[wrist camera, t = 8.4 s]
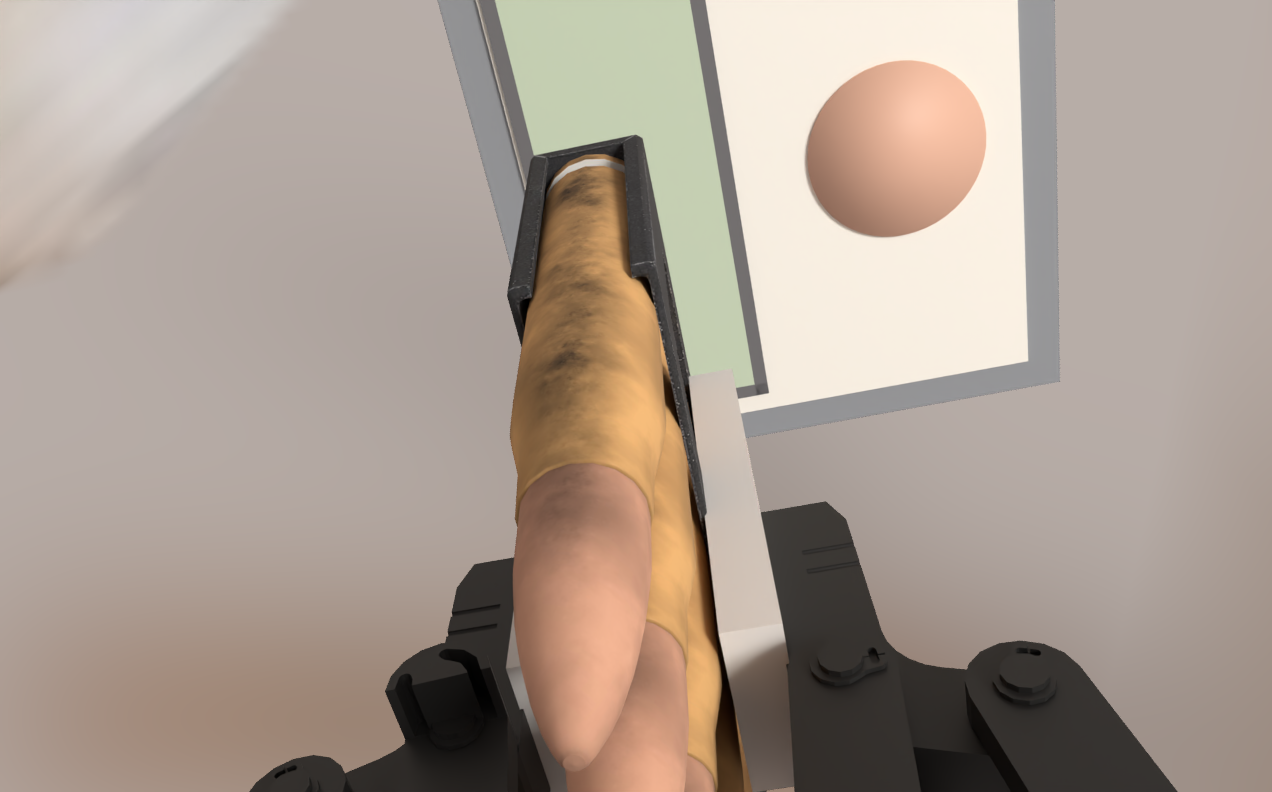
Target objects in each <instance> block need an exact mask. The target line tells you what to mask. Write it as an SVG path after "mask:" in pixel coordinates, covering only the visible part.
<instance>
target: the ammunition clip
mask: <svg viewBox="0 0 1272 792" xmlns="http://www.w3.org/2000/svg"><path fill="white" fill-rule="evenodd" d="M507 297H508V300H509V304H510V308H511V311H512V314H513V318H514V322H515V325H516V329H517V332H518V336H519V339H520V343H521V347H522V349H521V356H520V362H519V368H518V375H517V381H516V387H515V393H514V400H513V409H512V417H511V427H510V440H511V446H512V451H513V455H514V460H515V464H516V469H517V473H518V480H517V496H516V512H515V520H516V523H517V527H518V528H517V537H516V546H515V555H514V566H513V605H514V627H515V635H516V642H517V649H518V655H519V661H520V666H521V670H522V674H523V678H524V682H525V686H526V690H527V694H528V698H529V702H530V706H531V709H532V711H533V714H534V717H535V719H536V722H537V725H538V727H539V730H540V732H541V735H542V737H543V739H544V741H545V743H546V744H547V746H548V748H549V750H550V752H551V753H552V755H553V756H554V758H555V759H556V761H557V762H558V763H559V764H560V766H561V767H563V768H565V773H566V784H567V790H568V792H752V787H751V782H750V778H749V773H748V768H747V764H746V759H745V754H744V750H743V745H742V740H741V735H740V731H739V726H738V721H737V717H736V712H735V707H734V703H733V698H732V693H731V689H730V684H729V679H728V675H727V670H726V665H725V661H724V656H723V651H722V647H721V642H720V637H719V632H718V624H717V615H716V607H715V598H714V590H713V581H712V573H711V564H710V556H709V547H708V539H707V530H706V522H705V515H706V513H707V508H706V501H705V493H704V486H703V478H702V471H701V467H700V462H699V457H698V452H697V445H696V437H695V429H694V420H693V412H692V403H691V395H690V386H689V383H690V381H689V376H690V371H689V366H688V361H687V357H686V352H685V347H684V342H683V337H682V332H681V327H680V322H679V317H678V312H677V307H676V302H675V297H674V292H673V287H672V282H671V277H670V272H669V267H668V262H667V257H666V252H665V247H664V242H663V237H662V232H661V227H660V222H659V217H658V212H657V207H656V202H655V197H654V192H653V187H652V182H651V177H650V172H649V167H648V162H647V157H646V152H645V147H644V142H643V138H642V137H640V136H638V135H631V136H626V137H621V138H616V139H611V140H607V141H602V142H597V143H592V144H587V145H582V146H577V147H573V148H568V149H563V150H558V151H553V152H548V153H544V154H539V155H534V156H533V158H532V159H531V161H530V167H529V173H528V178H527V184H526V190H525V195H524V201H523V207H522V212H521V218H520V224H519V229H518V235H517V241H516V246H515V252H514V258H513V263H512V269H511V275H510V281H509V287H508V294H507ZM760 792H766V791H760Z"/></svg>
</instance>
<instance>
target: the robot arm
mask: <svg viewBox="0 0 1272 792" xmlns="http://www.w3.org/2000/svg"><path fill="white" fill-rule="evenodd" d="M689 381H690V383H689V386H690V395H691V403H692V412H693V420H694V429H695V437H696V445H697V452H698V457H699V462H700V467H701V471H702V478H703V486H704V493H705V501H706V508H707V513H706V515H705V522H706V530H707V539H708V547H709V556H710V564H711V573H712V581H713V590H714V598H715V607H716V615H717V624H718V632H719V637H720V642H721V647H722V651H723V656H724V661H725V665H726V670H727V675H728V679H729V684H730V689H731V693H732V698H733V703H734V707H735V712H736V717H737V721H738V726H739V731H740V735H741V740H742V745H743V750H744V754H745V759H746V764H747V768H748V773H749V778H750V782H751V787H752V792H760V791H767V790H773V789H779V788H786V787H793V786H794V788H795V792H1177V791H1176V789H1175V788H1174V787H1173V785H1172V784H1171V783H1170V781H1169V780H1168V779H1167V778H1166V776H1165V775H1164V774H1163V772H1162V771H1161V770H1160V769H1159V767H1158V766H1157V765H1156V764H1155V763H1154V761H1153V760H1152V758H1151V757H1150V756H1149V754H1148V753H1147V752H1146V751H1145V749H1144V748H1143V747H1142V745H1141V744H1140V743H1139V741H1138V740H1137V739H1136V738H1135V736H1134V735H1133V734H1132V732H1131V731H1130V730H1129V729H1128V727H1127V726H1126V725H1125V723H1124V722H1123V721H1122V720H1121V718H1120V717H1119V716H1118V714H1117V713H1116V712H1115V711H1114V709H1113V708H1112V707H1111V705H1110V704H1109V703H1108V702H1107V700H1106V699H1105V698H1104V697H1103V695H1102V694H1101V693H1100V692H1099V690H1098V689H1097V687H1096V686H1095V685H1094V684H1093V682H1092V681H1091V680H1090V678H1089V677H1088V676H1087V675H1086V673H1085V672H1084V671H1083V669H1082V668H1081V667H1080V666H1079V665H1078V664H1077V663H1076V662H1075V661H1073V660H1072V659H1071V658H1070V657H1069V656H1068V655H1066V654H1065V653H1064V652H1062V651H1059V650H1057V649H1055V648H1052V647H1050V646H1047V645H1045V644H1041V643H1033V642H1027V641H1015V642H1006V643H999V644H997V645H994V646H992V647H990V648H988V649H985V650H983V651H981V652H980V653H979V654H978V655H977V656H976V657H975V658H974V659H973V660H972V661H971V662H970V663H969V665H968V669H967V670H965V669H954V668H942V667H936V666H931V665H925V664H922V663H919V662H916V661H913V660H911V659H909V658H907V657H905V656H903V655H902V654H901V653H899V652H897V651H896V650H895V649H894V648H893V647H892V646H891V645H890V644H889V643H888V642H887V640H886V639H885V637H884V635H883V633H882V631H881V628H880V625H879V621H878V619H877V615H876V612H875V609H874V606H873V603H872V600H871V596H870V593H869V590H868V587H867V584H866V581H865V577H864V574H863V571H862V568H861V565H860V563H859V558H858V556H857V552H856V549H855V547H854V543H853V540H852V536H851V533H850V530H849V527H848V524H847V521H846V519H845V518H844V517H843V516H842V515H841V514H840V513H838V512H837V511H836V510H835V509H834V508H833V507H832V506H830V505H829V504H828V503H827V502H820V503H814V504H808V505H802V506H797V507H791V508H785V509H780V510H773V511H768V512H762V513H761V512H760V508H759V502H758V498H757V492H756V488H755V482H754V477H753V472H752V467H751V462H750V457H749V452H748V447H747V442H746V437H745V432H744V427H743V422H742V417H741V412H740V407H739V401H738V396H737V391H736V386H735V381H734V376H733V371H732V369H727V370H721V371H716V372H710V373H705V374H699V375H694V376H689ZM513 566H514V558H509V559H503V560H497V561H491V562H485V563H480V564H475V565H474V566H473V567H472V569H471V570H470V571H469V572H468V574H467V575H466V577H465V578H464V579H463V581H462V582H461V583H460V585H459V586H458V587H457V590H456V595H455V600H454V604H453V609H452V617H451V619H450V623H449V628H448V637H446V642H445V643H441V644H438V645H436V646H433V647H430V648H427V649H424V650H422V651H420V652H419V653H417V654H415V655H414V656H412V657H411V658H409V659H408V660H406V661H405V662H403V664H402V665H401V666H400V667H399V668H398V669H397V670H396V671H395V672H394V674H393V675H392V676H391V678H390V681H389V683H388V685H387V688H386V690H385V692H386V695H387V697H388V700H389V702H390V704H391V707H392V709H393V711H394V714H395V716H396V719H397V721H398V723H399V725H400V728H401V730H402V733H403V735H404V738H405V744H404V745H402V746H401V747H400V748H398V749H397V750H396V751H394V752H392V753H390V754H388V755H386V756H384V757H382V758H380V759H378V760H376V761H373V762H371V763H368V764H366V765H364V766H361V767H359V768H357V769H354V770H352V771H349V772H347V773H344V771H343V768H342V767H341V765H339V764H338V763H336V762H335V761H334V760H333V759H331V758H329V757H323V756H315V755H312V756H307V757H302V758H296V759H293V760H291V761H289V762H286V763H284V764H282V765H280V766H278V767H276V768H274V769H273V770H271V771H270V772H269V773H268V774H266V775H265V776H264V777H263V778H261V779H260V780H259V781H258V782H256V784H255V785H254V786H253V788H252V789H251V790H250V792H568V790H567V784H566V773H565V768H563V767H561V766H560V764H559V763H558V762H557V761H556V759H555V758H554V756H553V755H552V753H551V752H550V750H549V748H548V746H547V744H546V743H545V741H544V739H543V737H542V735H541V732H540V730H539V727H538V725H537V722H536V719H535V717H534V714H533V711H532V709H531V706H530V702H529V698H528V694H527V690H526V686H525V682H524V678H523V674H522V670H521V666H520V661H519V655H518V649H517V642H516V635H515V627H514V605H513Z"/></svg>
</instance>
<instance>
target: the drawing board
mask: <svg viewBox="0 0 1272 792" xmlns="http://www.w3.org/2000/svg"><path fill="white" fill-rule="evenodd" d="M438 3H439V7H440V11H441V14H442V18H443V22H444V25H445V29H446V32H447V36H448V40H449V43H450V47H451V50H452V54H453V58H454V61H455V65H456V69H457V72H458V75H459V79H460V83H461V86H462V90H463V94H464V98H465V101H466V105H467V108H468V112H469V116H470V119H471V123H472V127H473V130H474V133H475V137H476V141H477V145H478V148H479V152H480V155H481V159H482V163H483V166H484V170H485V173H486V177H487V181H488V184H489V188H490V192H491V195H492V198H493V202H494V206H495V210H496V213H497V217H498V221H499V224H500V228H501V231H502V235H503V239H504V242H505V246H506V250H507V253H508V257H509V260H510V264H511V268H512V263H513V258H514V252H515V246H516V241H517V235H518V229H519V224H520V218H521V212H522V207H523V201H524V195H525V190H526V184H527V178H528V173H529V167H530V161H531V159H532V158H533V156H534V155H539V154H544V153H548V152H553V151H558V150H563V149H568V148H573V147H577V146H582V145H587V144H592V143H597V142H602V141H607V140H611V139H616V138H621V137H626V136H631V135H638V136H640V137H642V138H643V142H644V147H645V152H646V157H647V162H648V167H649V172H650V177H651V182H652V187H653V192H654V197H655V202H656V207H657V212H658V217H659V222H660V227H661V232H662V237H663V242H664V247H665V252H666V257H667V262H668V267H669V272H670V277H671V282H672V287H673V292H674V297H675V302H676V307H677V312H678V317H679V322H680V327H681V332H682V337H683V342H684V347H685V352H686V357H687V361H688V366H689V371H690V376H694V375H699V374H705V373H710V372H716V371H721V370H727V369H732V371H733V376H734V381H735V386H736V391H737V396H738V401H739V407H740V412H741V417H742V422H743V427H744V432H745V437H746V438H749V437H755V436H760V435H765V434H771V433H777V432H782V431H788V430H793V429H799V428H804V427H810V426H816V425H821V424H827V423H832V422H838V421H843V420H849V419H854V418H860V417H866V416H871V415H877V414H882V413H888V412H893V411H899V410H904V409H910V408H916V407H920V406H927V405H932V404H938V403H943V402H949V401H955V400H960V399H966V398H971V397H976V396H982V395H988V394H993V393H999V392H1004V391H1009V390H1016V389H1021V388H1027V387H1032V386H1038V385H1043V384H1049V383H1055V382H1060V361H1059V360H1060V357H1059V290H1058V289H1059V282H1058V212H1057V211H1058V207H1057V134H1056V61H1055V0H438Z"/></svg>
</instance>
